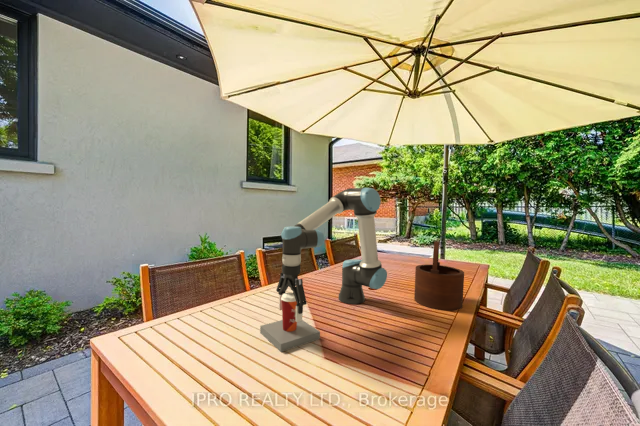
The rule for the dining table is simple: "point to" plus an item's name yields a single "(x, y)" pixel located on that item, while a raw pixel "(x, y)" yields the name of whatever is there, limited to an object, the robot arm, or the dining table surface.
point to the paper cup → (289, 312)
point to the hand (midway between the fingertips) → (290, 315)
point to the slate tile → (289, 335)
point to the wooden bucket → (439, 285)
